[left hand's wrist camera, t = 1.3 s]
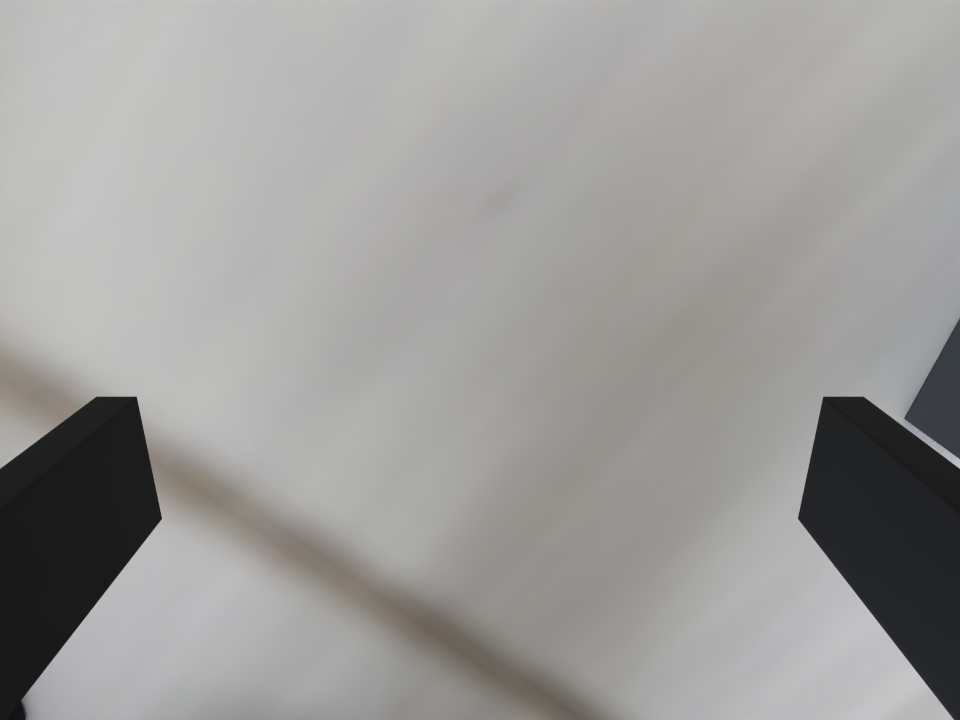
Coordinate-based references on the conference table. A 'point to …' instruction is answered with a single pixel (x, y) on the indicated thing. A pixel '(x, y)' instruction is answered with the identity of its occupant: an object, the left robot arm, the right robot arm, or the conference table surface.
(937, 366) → the beam
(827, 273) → the conference table surface
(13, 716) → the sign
